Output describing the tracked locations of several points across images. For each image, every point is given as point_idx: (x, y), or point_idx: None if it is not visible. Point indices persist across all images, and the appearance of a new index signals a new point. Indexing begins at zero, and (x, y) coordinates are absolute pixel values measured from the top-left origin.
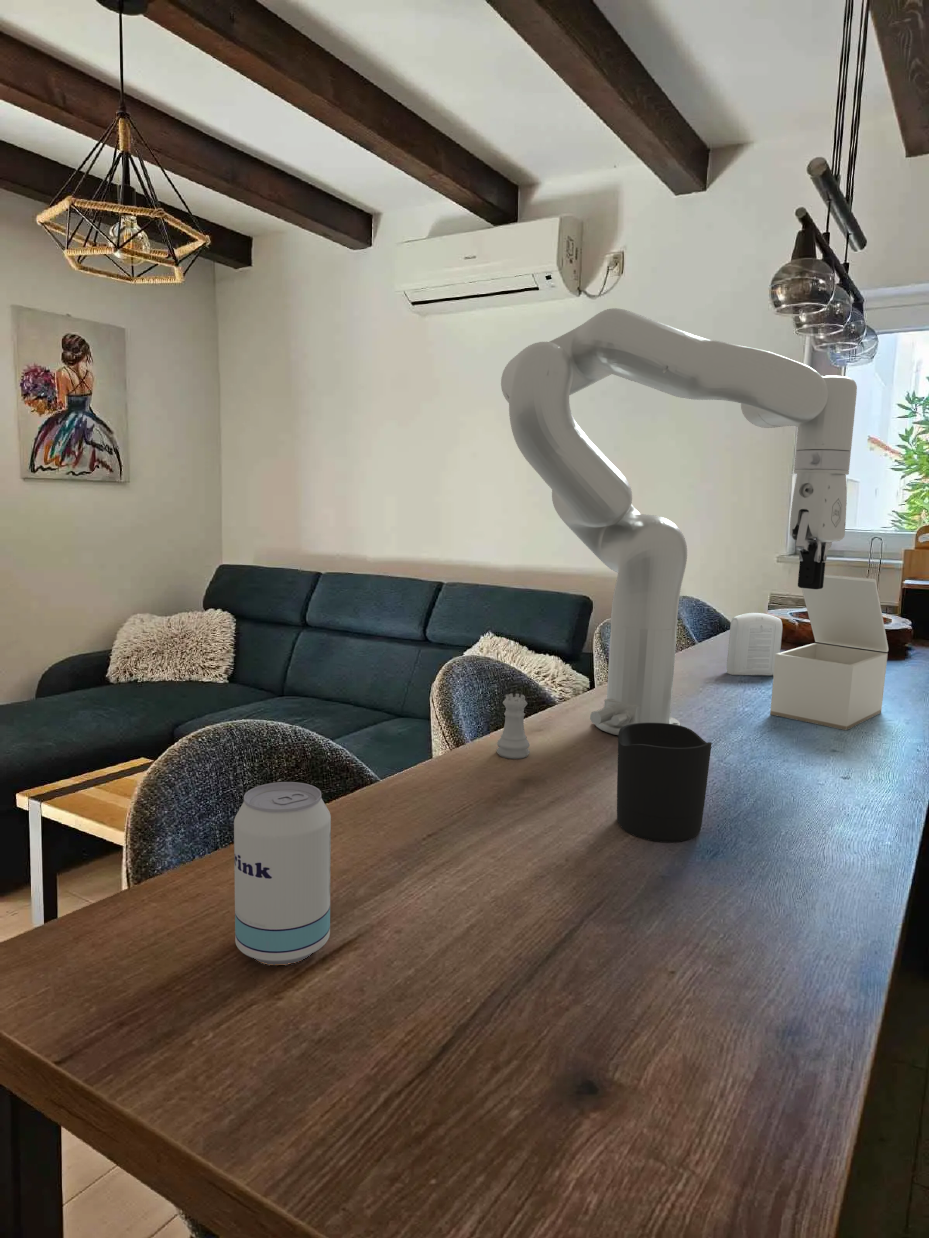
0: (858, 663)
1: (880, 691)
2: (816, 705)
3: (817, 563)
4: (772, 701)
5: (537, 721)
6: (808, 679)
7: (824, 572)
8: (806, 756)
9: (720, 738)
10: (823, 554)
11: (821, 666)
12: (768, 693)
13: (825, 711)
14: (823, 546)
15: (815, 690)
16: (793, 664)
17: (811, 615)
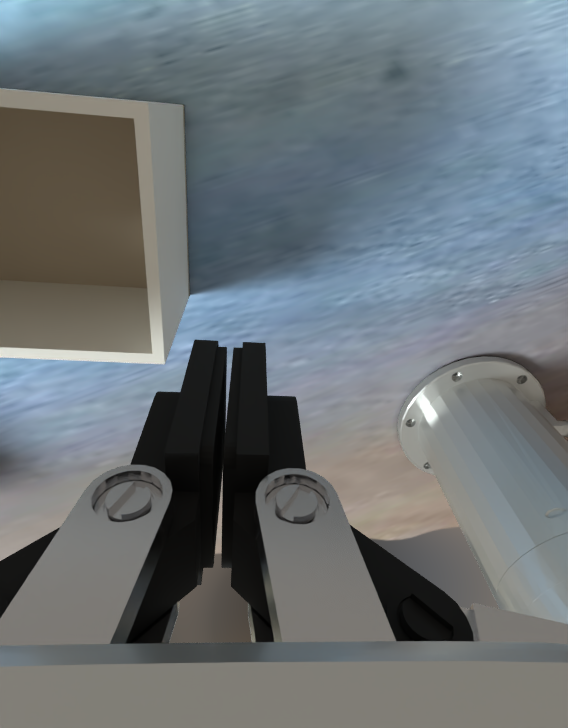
0: (71, 102)
1: None
2: (179, 199)
3: (266, 475)
4: (185, 304)
5: None
6: (169, 243)
7: (181, 394)
8: (480, 113)
9: (446, 296)
10: (157, 533)
11: (159, 218)
12: (3, 365)
13: (180, 171)
14: (118, 634)
15: (173, 213)
16: (165, 302)
17: None
